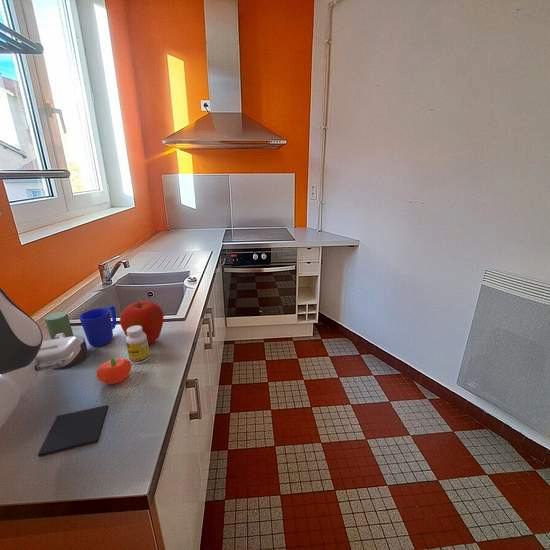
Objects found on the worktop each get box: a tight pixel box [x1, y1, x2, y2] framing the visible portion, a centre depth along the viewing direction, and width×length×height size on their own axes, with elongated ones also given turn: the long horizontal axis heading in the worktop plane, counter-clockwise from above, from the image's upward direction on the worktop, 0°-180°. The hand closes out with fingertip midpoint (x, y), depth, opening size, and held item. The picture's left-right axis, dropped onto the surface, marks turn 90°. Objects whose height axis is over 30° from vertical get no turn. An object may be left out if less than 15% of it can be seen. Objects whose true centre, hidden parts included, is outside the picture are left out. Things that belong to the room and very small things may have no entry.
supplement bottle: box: [125, 325, 151, 365], centre depth 85 cm, size 5×5×10 cm
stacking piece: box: [44, 311, 75, 340], centre depth 84 cm, size 5×5×9 cm
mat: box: [37, 404, 109, 457], centre depth 63 cm, size 10×10×1 cm
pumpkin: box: [95, 357, 133, 385], centre depth 77 cm, size 7×8×6 cm
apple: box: [119, 300, 165, 345], centre depth 92 cm, size 12×12×14 cm
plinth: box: [52, 334, 90, 371], centre depth 86 cm, size 10×10×5 cm
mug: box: [78, 305, 117, 347], centre depth 96 cm, size 8×12×10 cm
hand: (38, 339), depth 72 cm, fingers open, 8 cm apart
